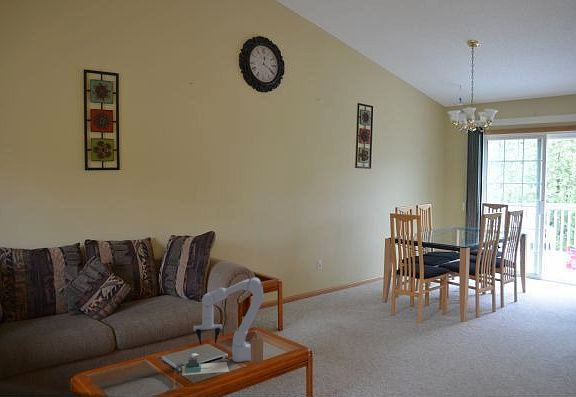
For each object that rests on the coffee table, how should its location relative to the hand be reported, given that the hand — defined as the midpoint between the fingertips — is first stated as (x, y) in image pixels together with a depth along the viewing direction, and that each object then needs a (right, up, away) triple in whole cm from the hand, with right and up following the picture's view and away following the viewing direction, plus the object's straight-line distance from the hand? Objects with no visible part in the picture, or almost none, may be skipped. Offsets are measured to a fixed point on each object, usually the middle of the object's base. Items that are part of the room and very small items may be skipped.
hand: (207, 343), depth 242 cm
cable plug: (-5, -9, -14) cm, 17 cm away
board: (+1, -10, -12) cm, 15 cm away
